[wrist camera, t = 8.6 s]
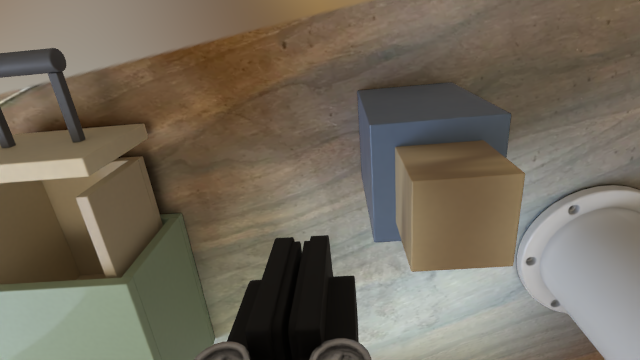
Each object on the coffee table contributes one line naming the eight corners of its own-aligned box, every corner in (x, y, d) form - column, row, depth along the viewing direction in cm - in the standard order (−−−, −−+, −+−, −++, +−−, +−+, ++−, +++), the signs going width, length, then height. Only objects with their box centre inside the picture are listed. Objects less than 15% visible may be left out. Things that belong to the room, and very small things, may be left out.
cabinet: (55, 221, 33) (-44, 293, 25) (182, 212, 33) (126, 284, 24) (106, 343, 39) (40, 438, 30) (215, 338, 38) (180, 434, 30)
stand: (452, 82, 28) (511, 113, 19) (448, 170, 30) (498, 235, 21) (357, 90, 28) (369, 125, 19) (361, 176, 31) (374, 242, 22)
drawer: (-18, 54, 27) (-144, 67, 20) (121, 41, 26) (43, 49, 19) (75, 275, 35) (8, 342, 27) (185, 268, 34) (146, 335, 27)
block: (483, 139, 19) (525, 172, 15) (477, 217, 21) (513, 266, 17) (394, 146, 19) (411, 181, 15) (395, 222, 21) (411, 272, 17)
